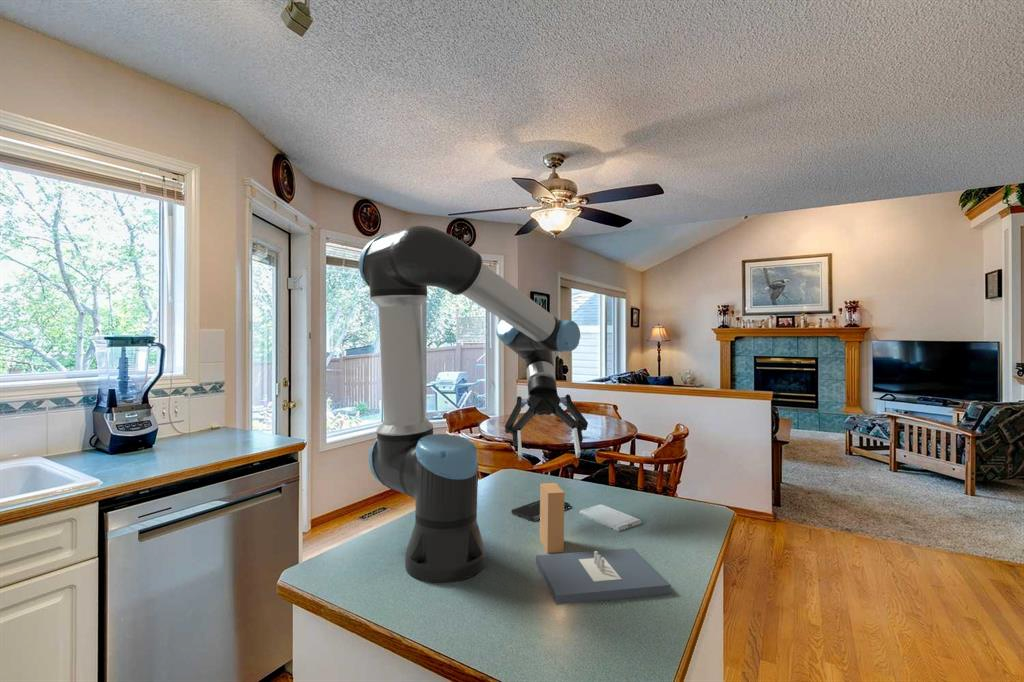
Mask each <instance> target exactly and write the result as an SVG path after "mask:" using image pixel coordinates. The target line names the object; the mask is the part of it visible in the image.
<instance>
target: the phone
mask: <svg viewBox="0 0 1024 682" xmlns="http://www.w3.org/2000/svg"><path fill="white" fill-rule="evenodd" d="M568 507H570V508H571V504H570V503H569V502H566V501H564V509H566V508H568ZM510 513H512V514H513V515H512V514H511V515H512V516H515V517H517V516H519V517H521V518H520V519H522V518H523V520H525V519H526V520H525V521H527V520H528V521H527V522H530V521H535V522H537V521H536V520H538V521H540V520H539V519H540V499H539V500H536V501H534V502H530V503H527V504H524V505H522V506H518V507H515V508H513V509H511V511H510Z"/></svg>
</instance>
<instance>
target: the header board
mask: <svg viewBox="0 0 1024 682" xmlns="http://www.w3.org/2000/svg"><path fill="white" fill-rule="evenodd" d="M535 564H536V567H537V568H538V570H539V572H540V575H541V576H542V578H543V580H544V582H545V584H546V587H547V588H548V591H549V593H550V594H551V596H552V598H553V600H554V603H555V604H556V605H557V606H558V605H568V604H578V603H587V602H588V603H589V602H601V601H607V600H608V601H609V599H610V600H618V599H628V598H629V599H630V598H639V597H640V598H641V597H651V596H663V595H670V594H671V583H669V582H668V580H666V578H665V577H663V576H662V575H661V574H660V573H659V571H657V570H656V569H655V568H654V567H653V566H652V565H651V564H650V563H649V562H648V561H647V560H646V559H645V558H644V557H643V556H642V555H641V554H640V553H639V552H638V551H637V550H636V549H635V548H634V547H632V548H631V547H630V548H618V549H617V548H616V549H605V550H603V549H602V550H590V551H577V552H568V553H567V552H561V553H551V554H550V553H547V554H540V555H539V554H537V555H535Z"/></svg>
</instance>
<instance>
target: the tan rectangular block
mask: <svg viewBox="0 0 1024 682" xmlns="http://www.w3.org/2000/svg"><path fill="white" fill-rule="evenodd" d="M539 486H540V487H539V492H540V493H539V500H540V520H539V541H540V543H541V544H543V545H542V546H543V548H544V550H545V552H546V553H547V554H550V553H551V554H556V553H565V552H564V549H565V544H564V543H565V510H564V502H565V492H564V490H563V489H562V488H561V487H560V486H559V485H558V484H557V483H556V482H549V483H546V482H545V483H540V484H539Z"/></svg>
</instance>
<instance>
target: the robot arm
mask: <svg viewBox="0 0 1024 682" xmlns="http://www.w3.org/2000/svg"><path fill="white" fill-rule="evenodd" d="M483 260H484V259H483V257H482V256H481V254H480V253H478V252H477V251H476V250H475V249H473V248H472V247H471V246H469V245H468V244H466V243H465V242H463V241H461V240H460V239H458V238H456V237H455V236H453V235H451V234H449V233H447V232H445V231H443V230H441V229H438V228H435V227H432V226H428V225H414V226H409V227H406V228H403V229H401V230H397V231H394V232H390V233H384V234H381V235H378V236H377V237H375V238H374V239H372V240H370V241H369V242H367V243H366V245H365V246H364V247H363V249H362V250H361V253H360V255H359V260H358V270H359V273H360V277H361V279H362V281H363V282H364V283H365V284H366V286H367V287H369V297H370V300H371V302H373V303H374V304H375V305H376V306H377V307H378V324H379V327H378V328H379V343H380V344H379V346H380V347H379V348H380V366H381V386H382V387H381V388H382V407H383V422H381V424H380V425H379V426H378V427H377V429H376V439H374V443H373V444H372V445H371V446H370V449H369V452H368V465H369V469H370V473H371V475H373V477H374V478H375V479H376V480H377V482H379V483H380V484H381V485H383V486H385V487H387V488H388V489H390V490H392V491H397V492H400V493H402V494H405V495H407V496H408V497H411V498H412V499H415V520H414V521H415V522H414V526H413V529H412V532H411V535H410V538H409V540H408V544H407V547H406V551H405V555H404V559H405V561H404V562H405V563H404V567H405V570H406V571H407V573H408V574H409V575H411V576H412V577H414V578H416V579H418V580H421V581H424V582H429V583H430V582H431V583H450V582H451V583H452V582H457V581H461V580H465V579H467V578H470V577H472V576H474V575H476V574H478V573H479V572H480V571H481V570H482V569H484V566H485V564H486V546H485V543H484V540H483V536H482V533H481V530H480V527H479V523H478V520H477V519H478V518H477V517H478V515H477V513H478V511H477V510H478V486H479V461H478V450H477V447H476V444H475V443H473V442H472V441H471V440H470V439H467V438H465V437H462V436H460V435H455V434H454V435H449V434H446V433H435V434H434V425H433V423H432V422H431V421H430V420H428V419H427V417H426V405H425V404H426V402H425V399H426V398H425V382H424V381H425V379H424V360H423V359H424V358H423V357H424V356H423V337H422V335H423V334H422V311H421V308H422V307H421V306H422V305H423V303H424V302H425V301H426V300H427V299H428V287H434V288H435V287H436V288H439V289H443V290H446V291H447V292H449V293H450V294H452V295H454V296H460V295H462V296H464V297H466V298H467V299H469V300H470V301H473V302H474V303H475V304H476V305H478V306H480V307H481V308H483V309H484V310H486V311H487V312H489V313H491V315H492V314H493V315H494V316H496V317H497V318H499V319H500V320H499V322H498V325H496V326H497V327H496V329H495V333H496V334H495V335H496V336H497V338H498V339H499V340H500V341H501V343H502V344H504V345H505V346H507V347H508V348H509V349H510V350H512V352H514V353H516V354H517V355H518V356H519V357H520V358H521V359H523V361H524V362H525V367H526V368H525V369H526V383H527V393H528V394H527V398H522V396H521V395H520V396H517V397H516V404H515V405H514V408H513V409H512V412H511V413H510V416H509V418H508V419H507V421H506V423H505V425H504V433H505V434H511V435H512V445H513V446H514V447H517V454H518V461H522V460H523V449H522V435H521V431H522V429H523V428H524V427H525V426H526V425H527V423H529V421H530V420H531V419H532V418H534V417H535V416H536V414H537V415H538V416H544V415H546V416H550V415H552V414H553V415H554V416H555V417H556V418H559V419H560V420H561V421H562V422H563V423H565V424H566V425H567V426H568V427H570V429H572V438H573V445H574V451H575V458H576V459H579V458H581V457H580V456H581V447H580V444H581V445H583V440H584V437H583V432H582V431H587V429H588V425H589V422H588V421H587V419H586V418H585V416H583V414H582V413H581V411H580V410H579V409H578V407H577V406H575V405H576V404H575V403H573V400H572V398H571V395H570V394H565V396H562V397H560V396H559V395H558V390H557V389H558V387H557V382H556V381H557V379H556V374H555V373H556V372H555V365H554V358H553V357H554V356H553V352H557V353H558V352H559V353H563V352H572V351H574V350H576V349H577V347H578V346H579V344H580V340H581V331H580V327H579V325H578V324H577V323H576V322H575V321H574V320H571V319H570V320H569V319H563V320H561V319H559V318H557V317H556V316H554V315H553V314H552V313H550V312H549V311H547V310H546V309H545V308H544V307H542V306H541V305H539V304H538V303H537V302H535V301H534V300H533V299H532V298H530V297H528V296H527V295H526V294H525V293H523V292H522V291H520V290H519V289H518V288H516V287H515V286H514V285H513V284H511V283H510V282H508V281H507V280H506V279H504V278H503V277H502V276H500V275H499V274H498V273H497V272H495V271H494V270H493V269H491V268H490V267H488V266H487V265H486V264H484V261H483ZM560 404H563V406H564V407H566V410H567V411H568V412H569V413H570V414H569V413H567V412H566V411H565V410H564V409H563V408H562V406H561V405H560ZM526 405H527V406H528V408H527V410H526V412H525V413H524V414H523V415H522V416H521V417H520V418H519V415H520V413H521V411H522V409H523V408H525V406H526ZM571 415H572V416H571ZM517 418H519V419H518V421H516V420H517Z"/></svg>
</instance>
